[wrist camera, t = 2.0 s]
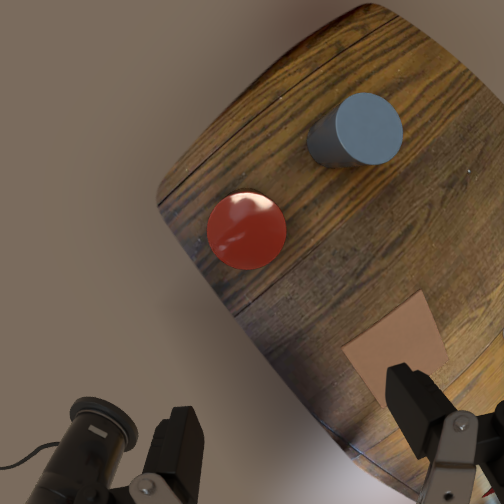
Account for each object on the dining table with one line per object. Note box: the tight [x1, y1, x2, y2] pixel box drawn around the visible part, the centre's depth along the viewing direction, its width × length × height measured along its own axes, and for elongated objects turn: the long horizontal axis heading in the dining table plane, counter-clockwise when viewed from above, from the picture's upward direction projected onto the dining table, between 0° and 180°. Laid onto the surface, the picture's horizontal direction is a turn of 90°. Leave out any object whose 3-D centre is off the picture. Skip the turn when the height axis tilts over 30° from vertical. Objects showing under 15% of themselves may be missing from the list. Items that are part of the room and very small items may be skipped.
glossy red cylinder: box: [207, 188, 287, 270], centre depth 26 cm, size 5×5×10 cm
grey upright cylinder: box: [307, 93, 403, 169], centre depth 24 cm, size 5×5×10 cm
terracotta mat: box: [341, 289, 449, 409], centre depth 35 cm, size 12×14×1 cm
